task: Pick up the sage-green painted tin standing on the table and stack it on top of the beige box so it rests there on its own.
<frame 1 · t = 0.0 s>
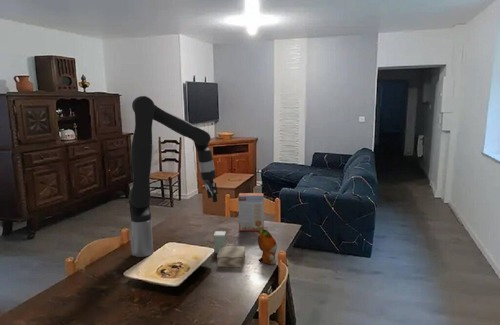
hand: (212, 199, 187), 22 cm above the table, tool pointing down, fingers open, 8 cm apart
toy: (267, 261, 167), on the table
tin: (220, 250, 179), on the table
cracker box: (251, 229, 207), on the table
beige box: (231, 261, 167), on the table
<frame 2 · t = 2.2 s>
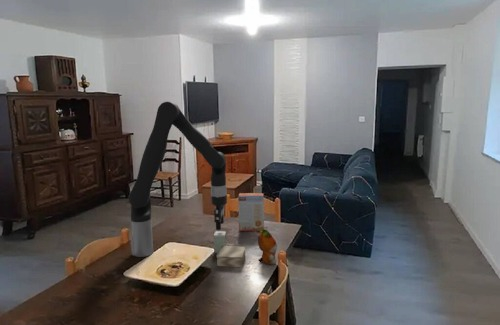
hand: (219, 226, 177), 12 cm above the table, tool pointing down, fingers open, 8 cm apart
nothing on the table moved.
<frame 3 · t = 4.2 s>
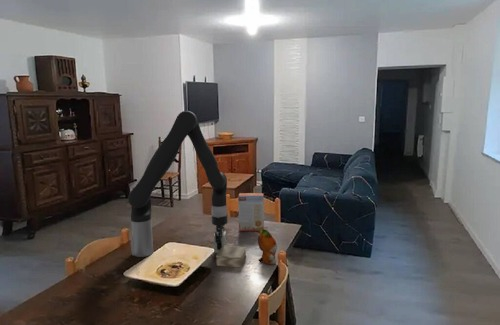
hand: (220, 247, 178), 2 cm above the table, tool pointing down, fingers closed on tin, 5 cm apart
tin: (220, 250, 179), on the table, touching gripper
everything else where it was.
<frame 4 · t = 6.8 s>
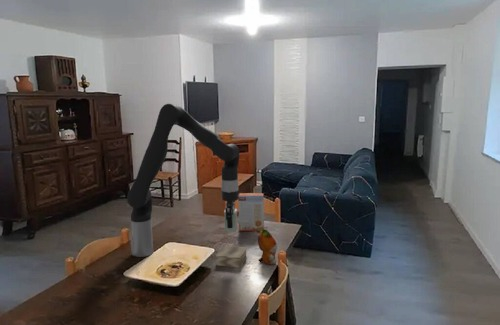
hand: (230, 225, 164), 17 cm above the table, tool pointing down, fingers closed on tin, 5 cm apart
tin: (231, 229, 165), point 15 cm above the table, touching gripper
everything else where it was.
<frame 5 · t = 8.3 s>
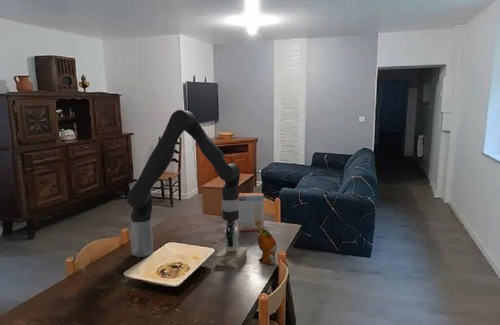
hand: (231, 244, 166), 8 cm above the table, tool pointing down, fingers closed on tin, 5 cm apart
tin: (231, 248, 166), point 6 cm above the table, touching gripper
everything else where it was.
when the fingers open (8 cm above the table, at t = 9.2 s): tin drops 1 cm, resting on beige box.
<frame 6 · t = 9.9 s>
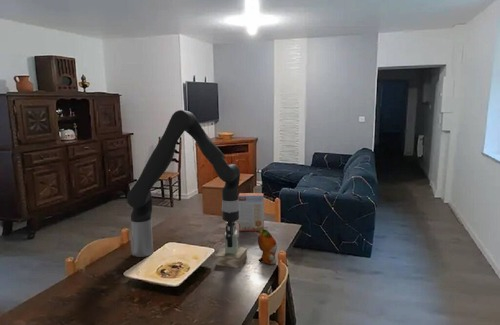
hand: (231, 243, 166), 9 cm above the table, tool pointing down, fingers open, 8 cm apart
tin: (231, 251, 167), point 5 cm above the table, touching beige box
beige box: (231, 261, 167), on the table, touching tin
everything else where it was.
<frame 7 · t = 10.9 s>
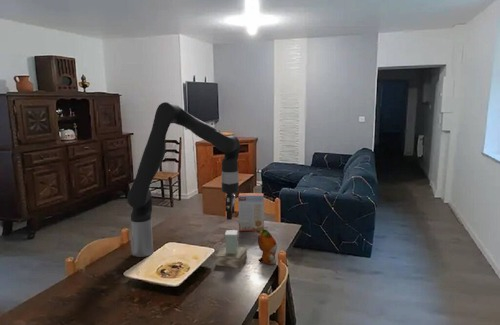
hand: (230, 216, 163), 21 cm above the table, tool pointing down, fingers open, 8 cm apart
nothing on the table moved.
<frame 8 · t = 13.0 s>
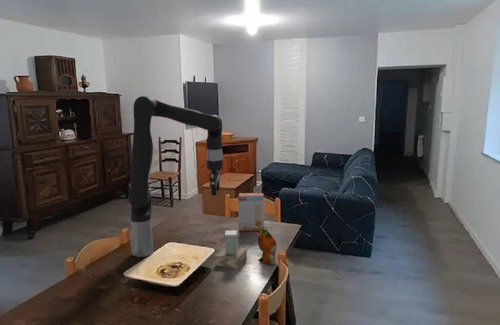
hand: (215, 192, 171), 30 cm above the table, tool pointing down, fingers open, 8 cm apart
nothing on the table moved.
at the end: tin inside the target area on the beige box (0.3 cm from its centre), point 5.0 cm above the beige box's base; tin tilted 1°; the gripper is holding nothing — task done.
